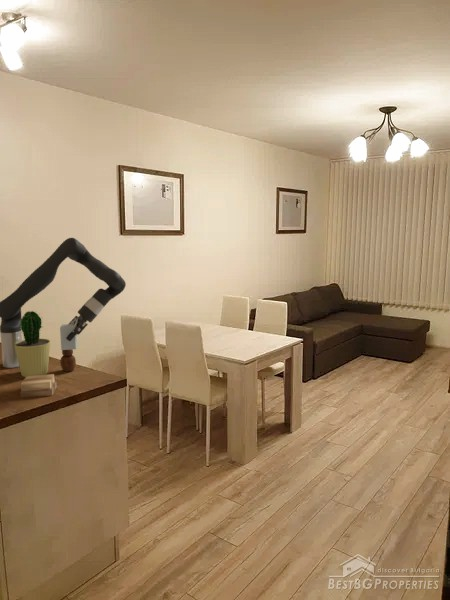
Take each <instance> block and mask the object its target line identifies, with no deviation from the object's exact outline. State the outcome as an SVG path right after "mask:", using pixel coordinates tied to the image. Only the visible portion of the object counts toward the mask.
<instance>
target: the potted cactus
mask: <svg viewBox="0 0 450 600" xmlns="http://www.w3.org/2000/svg"><path fill="white" fill-rule="evenodd" d="M21 319H22V321H21V328H20V329H21V335H22V336H23V337H22V338H23V339H22V341H19V342H16V343H15V344H14V345H15V350H16V354H17V358H18V362H19V371H20V375H21V376H22V377H25V378H26V376H29V375H44V374H48V371H49V359H50V352H51V351H50V349H51V339H49V338H48V339H47V338H40V332H41V331H42V330H41V329H42V328H43V326H42V319H43V317H42V316H40V313H39V314H38V312H37V311H34V310H31V311H30V310H28V311H25V313H24V314H23V316H21ZM19 324H20V323H19Z"/></svg>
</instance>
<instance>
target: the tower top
mask: <svg viewBox="0 0 450 600" xmlns="http://www.w3.org/2000/svg"><path fill="white" fill-rule="evenodd" d="M55 380H56V379H55V374H54V373H46V374H44V375H29V376H26V377H25V378H24V379H23V380H22V382H21V383H20V392H21V391H34V390H48V389H51V387H52V385H53V383H54V381H55Z"/></svg>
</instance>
